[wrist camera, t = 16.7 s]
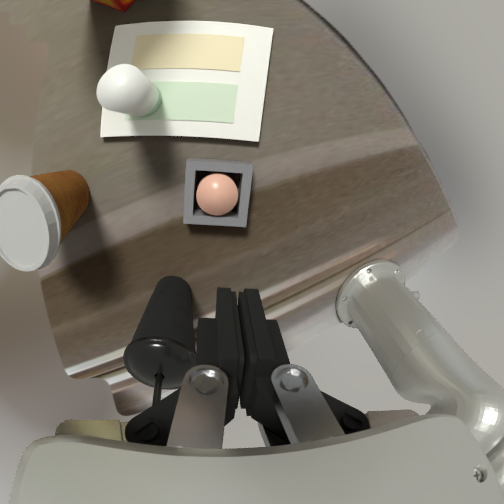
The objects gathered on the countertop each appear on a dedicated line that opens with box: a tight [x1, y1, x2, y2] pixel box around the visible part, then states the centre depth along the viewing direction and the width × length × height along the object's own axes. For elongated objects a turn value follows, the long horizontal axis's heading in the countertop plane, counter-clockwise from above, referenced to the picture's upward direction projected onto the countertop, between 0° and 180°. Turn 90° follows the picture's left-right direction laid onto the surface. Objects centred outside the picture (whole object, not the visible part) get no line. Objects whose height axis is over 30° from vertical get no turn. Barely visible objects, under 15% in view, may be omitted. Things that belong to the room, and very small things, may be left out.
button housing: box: [183, 158, 253, 227], centre depth 30 cm, size 7×7×2 cm
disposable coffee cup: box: [0, 170, 90, 271], centre depth 23 cm, size 10×10×12 cm
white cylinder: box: [97, 64, 162, 118], centre depth 20 cm, size 4×4×9 cm
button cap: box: [196, 172, 238, 215], centre depth 30 cm, size 4×4×2 cm
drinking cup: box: [123, 276, 196, 406], centre depth 27 cm, size 8×8×20 cm
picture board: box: [100, 21, 273, 142], centre depth 24 cm, size 18×14×1 cm
